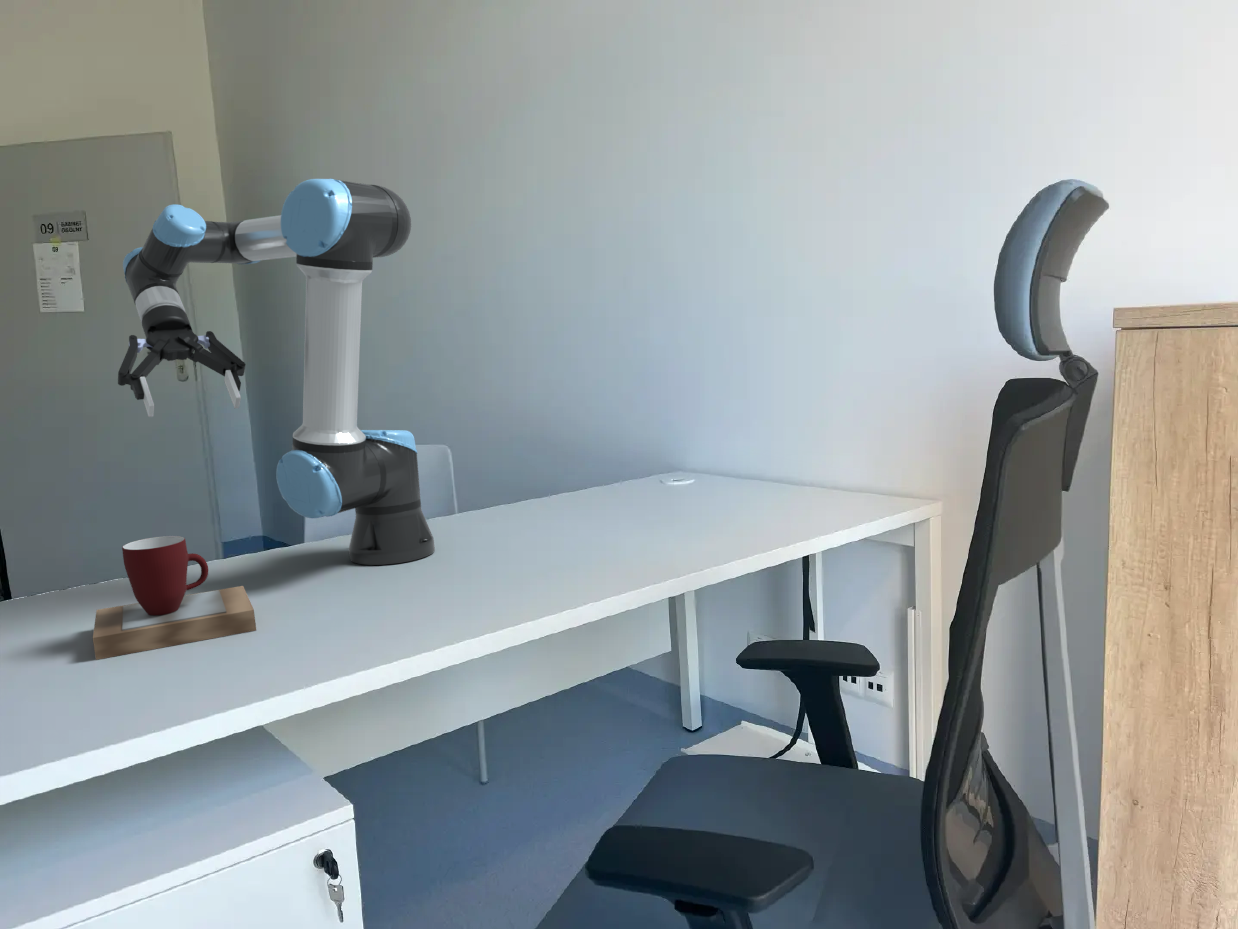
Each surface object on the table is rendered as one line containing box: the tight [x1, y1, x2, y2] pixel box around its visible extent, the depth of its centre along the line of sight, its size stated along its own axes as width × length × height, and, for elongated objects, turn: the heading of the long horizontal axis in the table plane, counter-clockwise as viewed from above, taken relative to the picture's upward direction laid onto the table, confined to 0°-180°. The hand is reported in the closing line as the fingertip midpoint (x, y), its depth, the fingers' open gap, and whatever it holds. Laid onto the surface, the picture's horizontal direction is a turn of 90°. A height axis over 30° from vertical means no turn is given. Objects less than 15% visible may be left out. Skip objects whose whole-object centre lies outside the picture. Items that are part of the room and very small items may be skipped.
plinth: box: [92, 585, 257, 661], centre depth 138 cm, size 20×15×3 cm
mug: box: [121, 535, 209, 616], centre depth 136 cm, size 11×8×10 cm
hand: (195, 407), depth 161 cm, fingers open, 13 cm apart
